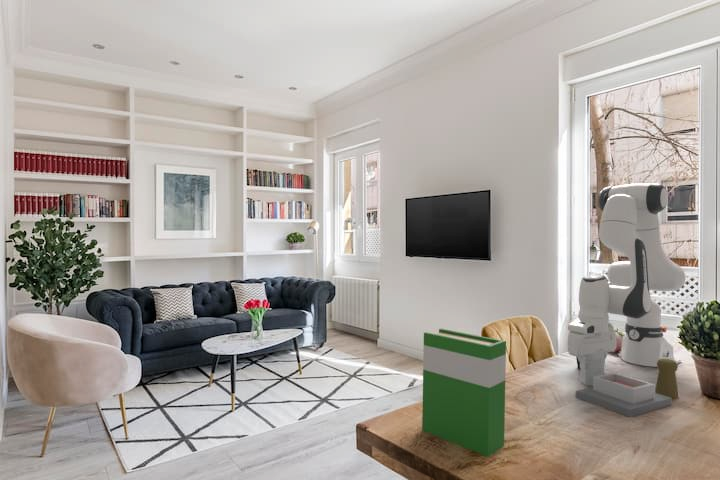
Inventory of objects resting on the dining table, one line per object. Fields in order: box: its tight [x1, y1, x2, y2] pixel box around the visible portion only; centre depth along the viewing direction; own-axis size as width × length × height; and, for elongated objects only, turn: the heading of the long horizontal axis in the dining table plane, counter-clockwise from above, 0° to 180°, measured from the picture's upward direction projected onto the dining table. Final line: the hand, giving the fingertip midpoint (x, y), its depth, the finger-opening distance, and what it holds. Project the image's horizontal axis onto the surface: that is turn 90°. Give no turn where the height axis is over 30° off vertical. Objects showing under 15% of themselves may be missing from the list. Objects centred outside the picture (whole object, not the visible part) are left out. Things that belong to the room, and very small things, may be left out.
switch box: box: [575, 372, 673, 418], centre depth 129 cm, size 20×16×6 cm
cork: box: [654, 359, 679, 400], centre depth 134 cm, size 6×6×11 cm
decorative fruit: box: [614, 328, 626, 353], centre depth 184 cm, size 9×8×10 cm
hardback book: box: [421, 328, 507, 457], centre depth 104 cm, size 18×7×24 cm, turn 45°
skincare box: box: [580, 348, 605, 386], centre depth 145 cm, size 6×4×12 cm
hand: (592, 366), depth 145 cm, fingers open, 7 cm apart
